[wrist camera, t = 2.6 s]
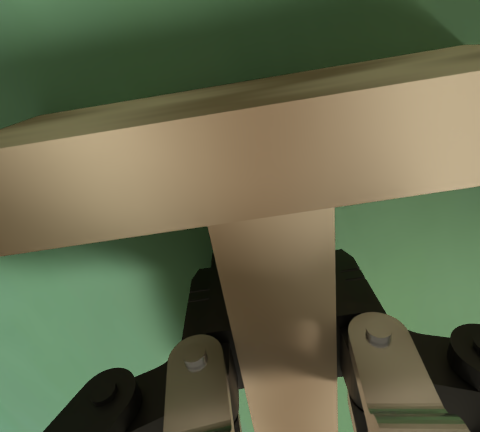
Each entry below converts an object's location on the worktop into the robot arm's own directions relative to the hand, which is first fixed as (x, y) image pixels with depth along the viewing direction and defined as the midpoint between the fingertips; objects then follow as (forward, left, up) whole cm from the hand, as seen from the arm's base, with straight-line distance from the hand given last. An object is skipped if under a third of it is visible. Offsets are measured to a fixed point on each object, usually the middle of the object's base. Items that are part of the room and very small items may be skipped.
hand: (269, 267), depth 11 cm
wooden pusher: (0, 0, -1) cm, 1 cm away
